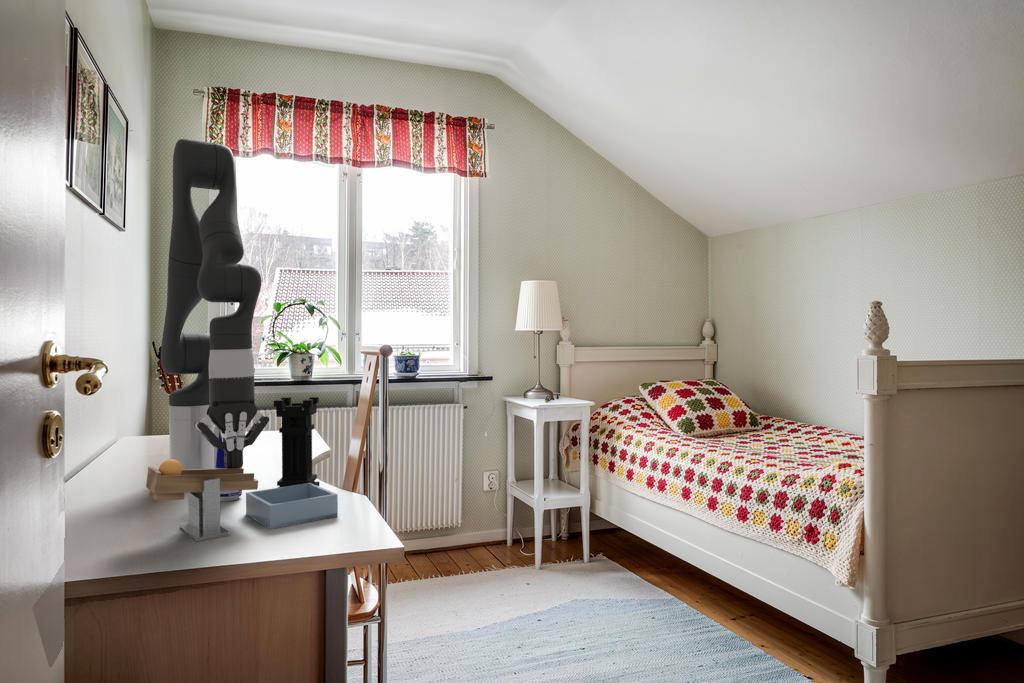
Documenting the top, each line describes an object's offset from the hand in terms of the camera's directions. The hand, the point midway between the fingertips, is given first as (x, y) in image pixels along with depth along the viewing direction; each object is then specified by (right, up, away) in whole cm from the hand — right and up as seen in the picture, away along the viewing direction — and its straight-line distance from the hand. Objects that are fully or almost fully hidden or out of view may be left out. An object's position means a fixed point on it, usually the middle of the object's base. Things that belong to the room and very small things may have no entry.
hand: (233, 470), depth 120 cm
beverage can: (-7, -9, +13) cm, 17 cm away
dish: (+10, -8, +1) cm, 13 cm away
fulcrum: (-2, -9, -8) cm, 12 cm away
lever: (-3, -3, -7) cm, 8 cm away
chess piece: (+7, -8, +14) cm, 18 cm away
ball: (-5, +2, -12) cm, 13 cm away
